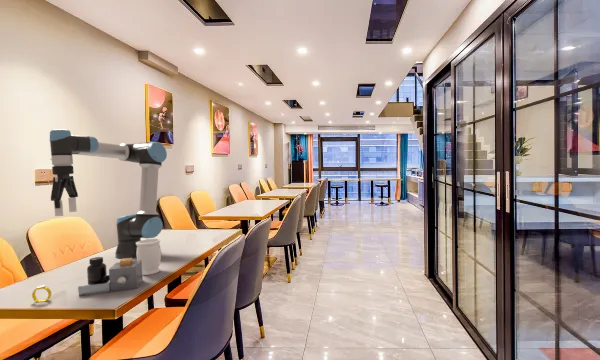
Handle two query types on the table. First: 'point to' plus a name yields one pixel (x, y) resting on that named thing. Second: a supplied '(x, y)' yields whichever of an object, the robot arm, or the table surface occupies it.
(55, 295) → the table surface
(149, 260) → the jar
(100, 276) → the supplement bottle
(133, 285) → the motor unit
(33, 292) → the watch
